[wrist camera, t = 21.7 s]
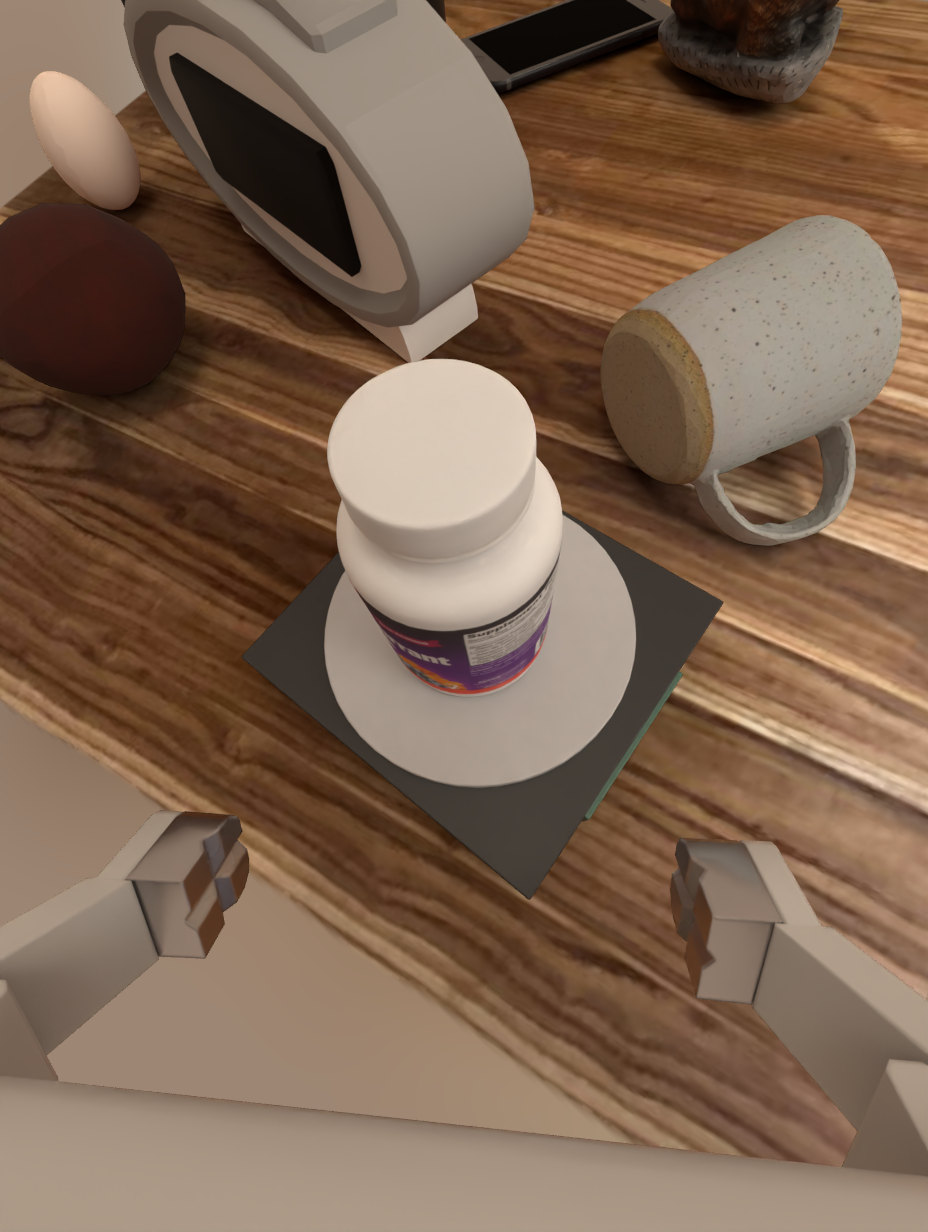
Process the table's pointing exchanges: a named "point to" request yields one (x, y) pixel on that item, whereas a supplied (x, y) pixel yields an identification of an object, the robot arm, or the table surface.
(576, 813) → the kitchen scale
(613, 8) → the smartphone
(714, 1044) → the table surface
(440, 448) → the pill bottle
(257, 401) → the table surface
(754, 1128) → the table surface
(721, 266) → the ceramic mug
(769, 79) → the bison figurine
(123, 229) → the dark reddish-brown round ball
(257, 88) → the alarm clock
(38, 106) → the egg
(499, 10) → the table surface
